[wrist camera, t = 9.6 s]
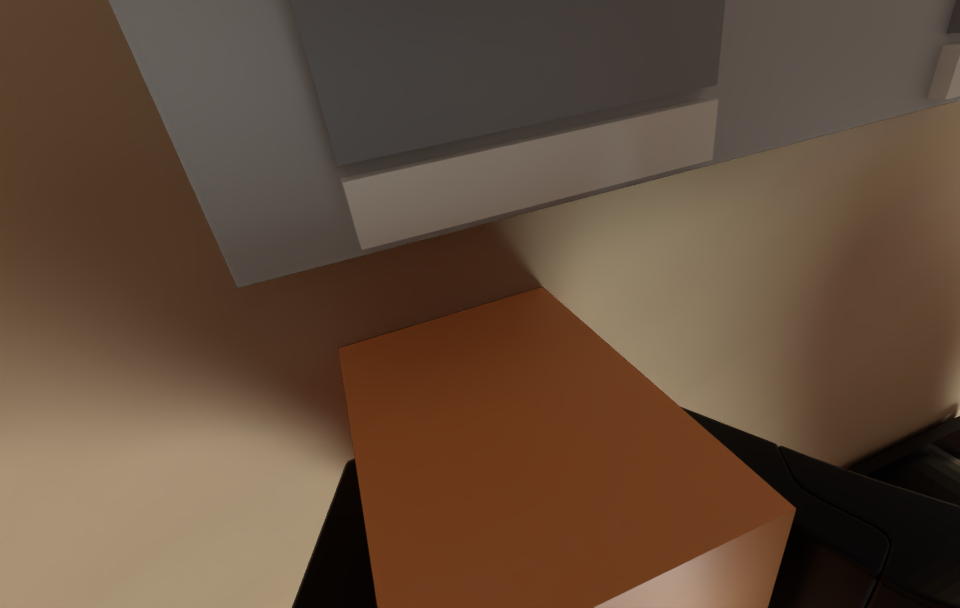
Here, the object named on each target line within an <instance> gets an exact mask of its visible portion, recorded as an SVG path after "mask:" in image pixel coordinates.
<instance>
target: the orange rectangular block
mask: <svg viewBox="0 0 960 608" xmlns="http://www.w3.org/2000/svg"><path fill="white" fill-rule="evenodd" d="M338 349H339V356H340V362H341V369H342V376H343V382H344V389H345V396H346V402H347V409H348V415H349V422H350V429H351V435H352V442H353V448H354V455H355V462H356V468H357V475H358V481H359V488H360V495H361V501H362V508H363V515H364V521H365V528H366V534H367V541H368V548H369V554H370V561H371V567H372V574H373V581H374V587H375V594H376V600H377V607H378V608H768V605H769V602H770V598H771V595H772V591H773V588H774V584H775V581H776V577H777V574H778V570H779V567H780V563H781V560H782V557H783V553H784V550H785V546H786V543H787V539H788V536H789V532H790V529H791V525H792V522H793V518H794V515H795V512H796V508H795V507H794V506H793V505H792V504H791V503H789V502H788V501H787V500H786V499H785V498H784V497H783V496H781V495H780V494H779V493H778V492H777V491H776V490H775V489H773V488H772V487H771V486H770V485H769V484H768V483H767V482H765V481H764V480H763V479H762V478H761V477H760V476H759V475H757V474H756V473H755V472H754V471H753V470H752V469H751V468H749V467H748V466H747V465H746V464H745V463H744V462H743V461H741V460H740V459H739V458H738V457H737V456H736V455H735V454H733V453H732V452H731V451H730V450H729V449H728V448H726V447H725V446H724V445H723V444H722V443H721V442H720V441H718V440H717V439H716V438H715V437H714V436H713V435H712V434H710V433H709V432H708V431H707V430H706V429H705V428H704V427H702V426H701V425H700V424H699V423H698V422H697V421H696V420H694V419H693V418H692V417H691V416H690V415H689V414H688V413H686V412H685V411H684V410H683V409H682V408H681V407H680V406H678V405H677V404H676V403H675V402H674V401H673V400H672V399H670V398H669V397H668V396H667V395H666V394H665V393H664V392H662V391H661V390H660V389H659V388H658V387H657V386H656V385H654V384H653V383H652V382H651V381H650V380H649V379H648V378H646V377H645V376H644V375H643V374H642V373H641V372H640V371H638V370H637V369H636V368H635V367H634V366H633V365H632V364H630V363H629V362H628V361H627V360H626V359H625V358H624V357H622V356H621V355H620V354H619V353H618V352H617V351H616V350H614V349H613V348H612V347H611V346H610V345H609V344H608V343H606V342H605V341H604V340H603V339H602V338H601V337H600V336H598V335H597V334H596V333H595V332H594V331H593V330H592V329H590V328H589V327H588V326H587V325H586V324H585V323H584V322H582V321H581V320H580V319H579V318H578V317H577V316H576V315H574V314H573V313H572V312H571V311H570V310H569V309H568V308H566V307H565V306H564V305H563V304H562V303H561V302H560V301H558V300H557V299H556V298H555V297H554V296H553V295H552V294H550V293H549V292H548V291H547V290H546V289H545V288H544V287H540V288H537V289H533V290H530V291H527V292H524V293H520V294H517V295H514V296H510V297H507V298H504V299H500V300H497V301H494V302H490V303H487V304H484V305H480V306H477V307H474V308H471V309H467V310H464V311H461V312H457V313H454V314H451V315H447V316H444V317H441V318H437V319H434V320H431V321H427V322H424V323H421V324H418V325H414V326H411V327H408V328H404V329H401V330H398V331H394V332H391V333H388V334H384V335H381V336H378V337H374V338H371V339H368V340H364V341H361V342H358V343H355V344H351V345H348V346H345V347H341V348H338Z"/></svg>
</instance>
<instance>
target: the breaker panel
mask: <svg viewBox="0 0 960 608" xmlns="http://www.w3.org/2000/svg"><path fill="white" fill-rule="evenodd" d="M108 1H109V3H110V5H111V7H112V10H113V12H114V14H115V16H116V18H117V21H118V23H119V25H120V27H121V30H122V32H123V34H124V36H125V39H126V41H127V43H128V45H129V47H130V50H131V52H132V54H133V56H134V59H135V61H136V63H137V65H138V68H139V70H140V72H141V74H142V76H143V79H144V81H145V83H146V85H147V88H148V90H149V92H150V94H151V97H152V99H153V101H154V103H155V105H156V108H157V110H158V112H159V114H160V117H161V119H162V121H163V123H164V126H165V128H166V130H167V132H168V134H169V137H170V139H171V141H172V143H173V146H174V148H175V150H176V152H177V154H178V157H179V159H180V161H181V163H182V166H183V168H184V170H185V172H186V175H187V177H188V179H189V181H190V183H191V186H192V188H193V190H194V192H195V195H196V197H197V199H198V201H199V204H200V206H201V208H202V210H203V212H204V215H205V217H206V219H207V221H208V224H209V226H210V228H211V230H212V233H213V235H214V237H215V239H216V241H217V244H218V246H219V248H220V250H221V253H222V255H223V257H224V259H225V262H226V264H227V266H228V268H229V270H230V273H231V275H232V277H233V279H234V282H235V284H236V286H237V288H240V287H244V286H248V285H252V284H255V283H259V282H263V281H267V280H271V279H275V278H278V277H282V276H286V275H290V274H294V273H298V272H302V271H305V270H309V269H313V268H317V267H321V266H325V265H328V264H332V263H336V262H340V261H344V260H348V259H351V258H355V257H359V256H363V255H367V254H371V253H375V252H378V251H382V250H386V249H390V248H394V247H398V246H401V245H405V244H409V243H413V242H417V241H421V240H425V239H428V238H432V237H436V236H440V235H444V234H448V233H451V232H455V231H459V230H463V229H467V228H471V227H474V226H478V225H482V224H486V223H490V222H494V221H498V220H501V219H505V218H509V217H513V216H517V215H521V214H524V213H528V212H532V211H536V210H540V209H544V208H547V207H551V206H555V205H559V204H563V203H567V202H571V201H574V200H578V199H582V198H586V197H590V196H594V195H597V194H601V193H605V192H609V191H613V190H617V189H621V188H624V187H628V186H632V185H636V184H640V183H644V182H647V181H651V180H655V179H659V178H663V177H667V176H670V175H674V174H678V173H682V172H686V171H690V170H694V169H697V168H701V167H705V166H709V165H713V164H717V163H720V162H724V161H728V160H732V159H736V158H740V157H744V156H747V155H751V154H755V153H759V152H763V151H767V150H770V149H774V148H778V147H782V146H786V145H790V144H793V143H797V142H801V141H805V140H809V139H813V138H817V137H820V136H824V135H828V134H832V133H836V132H840V131H843V130H847V129H851V128H855V127H859V126H863V125H866V124H870V123H874V122H878V121H882V120H886V119H890V118H893V117H897V116H901V115H905V114H909V113H913V112H916V111H920V110H924V109H928V108H932V107H936V106H940V105H943V104H947V103H951V102H955V101H959V100H960V0H108Z"/></svg>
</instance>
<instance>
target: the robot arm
mask: <svg viewBox="0 0 960 608" xmlns="http://www.w3.org/2000/svg"><path fill="white" fill-rule="evenodd" d="M681 408H682V407H681ZM682 409H683V410H684V411H685V412H686V413H688V414H689V415H690V416H691V417H692V418H693V419H694V420H696V421H697V422H698V423H699V424H700V425H701V426H702V427H704V428H705V429H706V430H707V431H708V432H709V433H710V434H712V435H713V436H714V437H715V438H716V439H717V440H718V441H720V442H721V443H722V444H723V445H724V446H725V447H726V448H728V449H729V450H730V451H731V452H732V453H733V454H735V455H736V456H737V457H738V458H739V459H740V460H741V461H743V462H744V463H745V464H746V465H747V466H748V467H749V468H751V469H752V470H753V471H754V472H755V473H756V474H757V475H759V476H760V477H761V478H762V479H763V480H764V481H765V482H767V483H768V484H769V485H770V486H771V487H772V488H773V489H775V490H776V491H777V492H778V493H779V494H780V495H781V496H783V497H784V498H785V499H786V500H787V501H788V502H789V503H791V504H792V505H793V506H794V507H795V508H796V512H795V515H794V518H793V522H792V525H791V529H790V532H789V536H788V539H787V543H786V546H785V550H784V553H783V557H782V560H781V563H780V567H779V570H778V574H777V577H776V581H775V584H774V588H773V591H772V595H771V598H770V602H769V605H768V608H960V416H959V417H957V418H954V419H952V420H950V421H948V422H946V423H944V424H942V425H940V426H938V427H936V428H934V429H931V430H929V431H927V432H925V433H923V434H921V435H919V436H917V437H915V438H913V439H911V440H909V441H906V442H904V443H902V444H900V445H898V446H896V447H894V448H892V449H890V450H888V451H886V452H884V453H881V454H879V455H877V456H875V457H873V458H871V459H869V460H867V461H865V462H863V463H861V464H858V465H856V466H854V467H852V468H850V469H849V470H846V469H843V468H840V467H837V466H834V465H832V464H829V463H826V462H823V461H821V460H818V459H815V458H812V457H810V456H807V455H804V454H802V453H799V452H797V451H794V450H791V449H789V448H786V447H784V446H779V447H778V446H777V445H776V444H775V443H773V442H770V441H768V440H765V439H763V438H760V437H757V436H755V435H752V434H750V433H747V432H744V431H742V430H739V429H737V428H734V427H731V426H729V425H726V424H724V423H721V422H718V421H716V420H713V419H711V418H708V417H706V416H703V415H700V414H698V413H695V412H693V411H690V410H687V409H685V408H682ZM292 608H378V607H377V600H376V594H375V587H374V581H373V574H372V567H371V561H370V554H369V548H368V541H367V534H366V528H365V521H364V515H363V508H362V501H361V495H360V488H359V481H358V475H357V468H356V462H355V458H354V459H352V460H349V461H348V462H347V463H346V465H345V468H344V470H343V473H342V476H341V478H340V481H339V484H338V486H337V489H336V492H335V494H334V497H333V500H332V502H331V505H330V508H329V510H328V513H327V516H326V518H325V521H324V523H323V526H322V529H321V531H320V534H319V537H318V539H317V542H316V545H315V547H314V550H313V553H312V555H311V558H310V561H309V563H308V566H307V569H306V571H305V574H304V577H303V579H302V582H301V585H300V587H299V590H298V593H297V595H296V598H295V601H294V603H293V606H292Z"/></svg>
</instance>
